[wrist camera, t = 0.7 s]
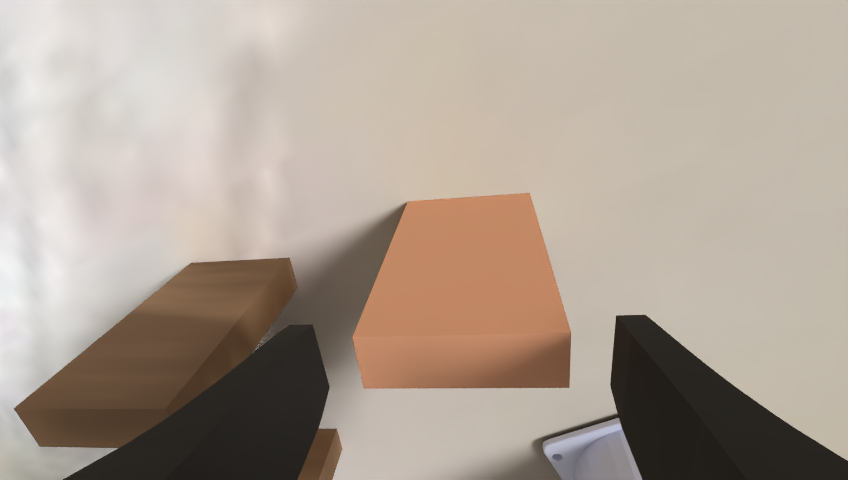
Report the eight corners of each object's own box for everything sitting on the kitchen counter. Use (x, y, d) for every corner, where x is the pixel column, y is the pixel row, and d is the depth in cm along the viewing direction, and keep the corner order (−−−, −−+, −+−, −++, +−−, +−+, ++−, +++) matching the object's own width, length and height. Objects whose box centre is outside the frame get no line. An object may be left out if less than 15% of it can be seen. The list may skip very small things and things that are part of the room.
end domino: (530, 229, 18) (569, 387, 10) (412, 236, 19) (364, 388, 11) (529, 192, 18) (570, 332, 10) (407, 201, 18) (352, 337, 10)
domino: (297, 287, 21) (184, 448, 13) (202, 291, 22) (40, 446, 14) (289, 257, 20) (165, 409, 12) (191, 262, 21) (14, 408, 13)
